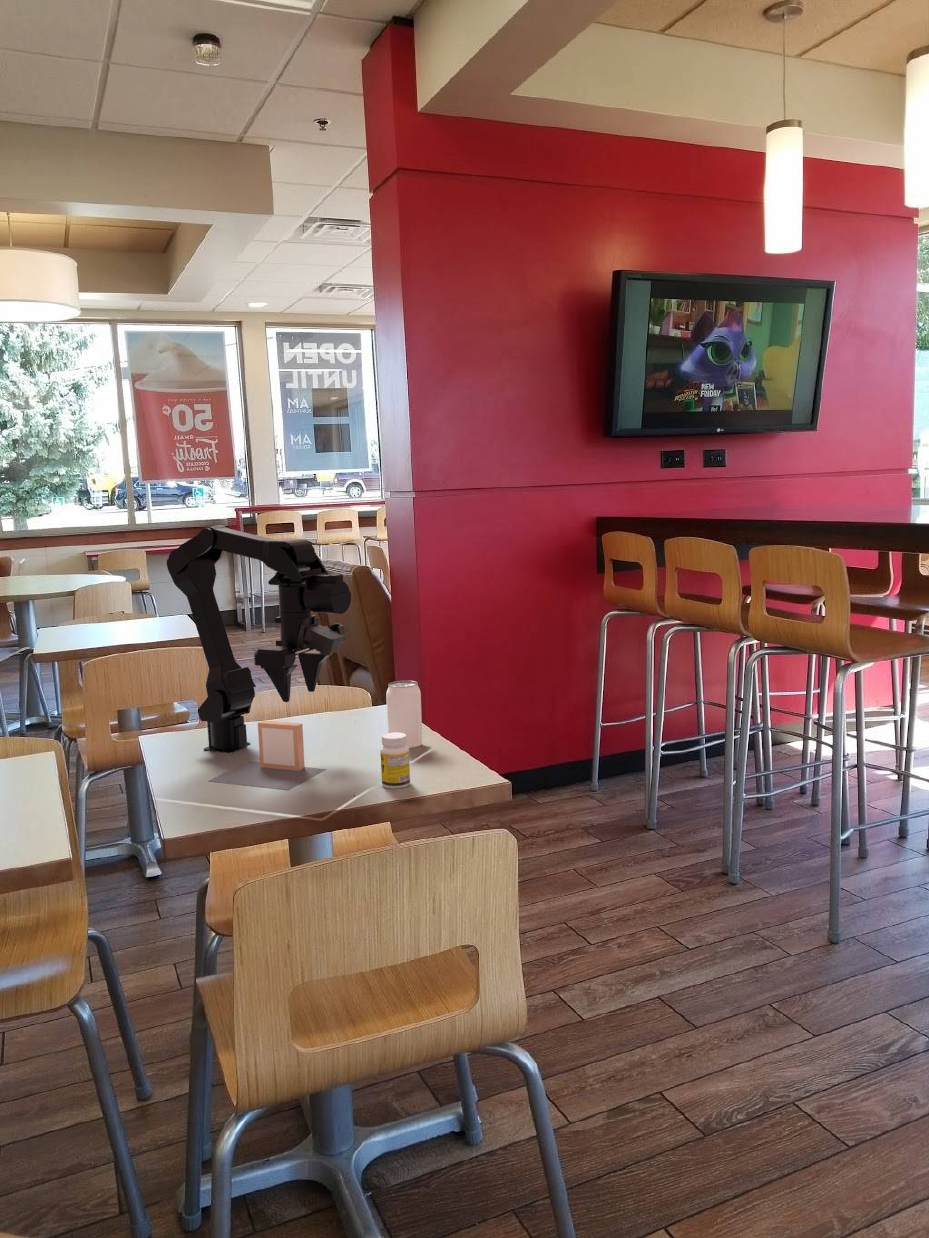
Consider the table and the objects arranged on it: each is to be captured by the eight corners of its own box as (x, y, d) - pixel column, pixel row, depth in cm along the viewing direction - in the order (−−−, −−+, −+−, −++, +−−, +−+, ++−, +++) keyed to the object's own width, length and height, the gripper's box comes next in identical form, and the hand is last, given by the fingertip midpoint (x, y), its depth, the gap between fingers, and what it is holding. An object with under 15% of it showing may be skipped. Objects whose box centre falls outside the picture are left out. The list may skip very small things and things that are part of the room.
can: (417, 750, 174) (415, 687, 173) (384, 749, 176) (381, 686, 174) (426, 741, 181) (424, 680, 179) (393, 740, 182) (391, 679, 180)
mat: (207, 783, 158) (207, 780, 158) (249, 763, 169) (249, 761, 169) (288, 792, 152) (288, 790, 152) (326, 771, 163) (326, 769, 163)
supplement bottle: (383, 780, 157) (381, 731, 156) (411, 780, 157) (409, 731, 156) (380, 789, 152) (377, 739, 151) (409, 789, 152) (407, 738, 151)
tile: (260, 767, 165) (257, 722, 164) (266, 764, 167) (263, 720, 166) (299, 771, 162) (296, 726, 161) (304, 768, 164) (302, 723, 163)
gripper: (307, 620, 155) (310, 712, 157) (361, 605, 172) (363, 689, 174) (250, 617, 159) (254, 707, 161) (308, 603, 176) (311, 684, 178)
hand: (299, 696), depth 169 cm, fingers open, 8 cm apart
